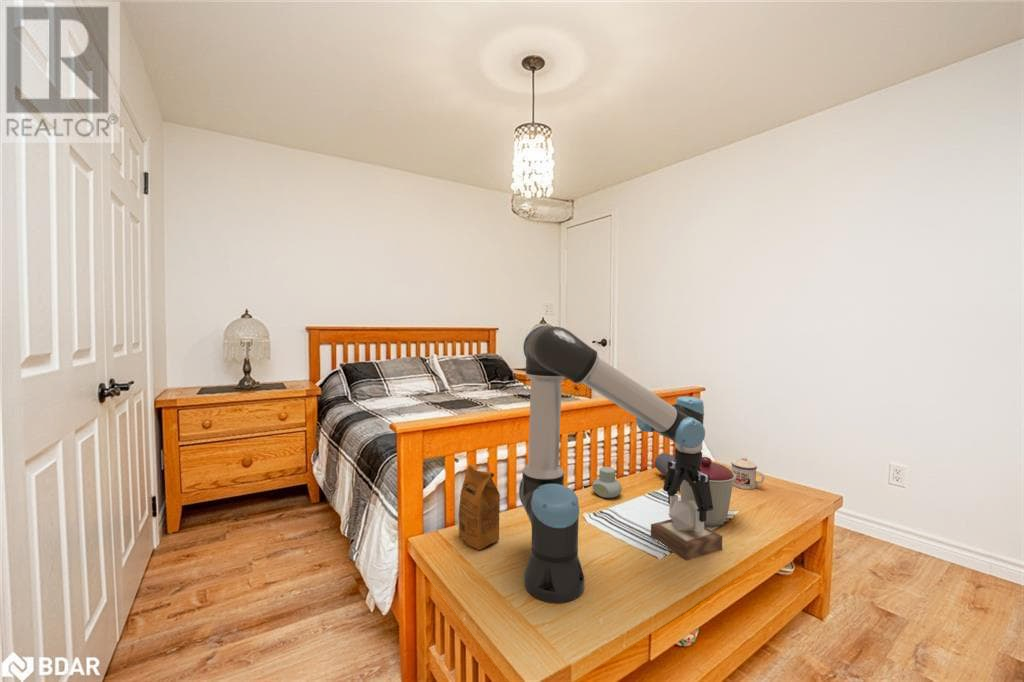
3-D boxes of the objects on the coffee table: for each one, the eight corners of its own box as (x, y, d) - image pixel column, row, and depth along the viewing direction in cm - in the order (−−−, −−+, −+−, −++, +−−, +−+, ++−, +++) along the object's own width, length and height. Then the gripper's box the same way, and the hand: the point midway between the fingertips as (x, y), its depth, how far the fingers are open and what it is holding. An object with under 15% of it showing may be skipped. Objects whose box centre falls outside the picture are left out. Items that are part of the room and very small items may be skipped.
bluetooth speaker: (652, 474, 184) (653, 452, 183) (672, 473, 186) (673, 451, 185) (683, 496, 162) (684, 470, 161) (705, 495, 163) (706, 469, 163)
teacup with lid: (727, 485, 173) (728, 457, 172) (735, 479, 179) (736, 452, 179) (760, 494, 164) (761, 464, 164) (767, 488, 171) (768, 459, 170)
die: (697, 542, 122) (713, 510, 124) (668, 523, 124) (684, 492, 126) (686, 537, 130) (701, 508, 132) (660, 520, 132) (675, 491, 134)
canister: (732, 513, 148) (735, 453, 147) (735, 537, 132) (738, 470, 131) (677, 503, 156) (678, 446, 155) (673, 524, 139) (675, 461, 138)
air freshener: (588, 493, 164) (589, 467, 163) (601, 487, 169) (601, 463, 169) (612, 502, 156) (613, 475, 155) (625, 496, 161) (626, 470, 161)
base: (686, 560, 119) (687, 545, 119) (650, 536, 131) (651, 523, 131) (721, 549, 125) (722, 535, 124) (684, 527, 137) (684, 514, 137)
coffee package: (480, 526, 137) (480, 459, 136) (503, 542, 127) (504, 470, 126) (453, 536, 131) (453, 465, 130) (476, 553, 121) (476, 477, 120)
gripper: (729, 459, 118) (726, 538, 119) (670, 438, 138) (668, 506, 139) (710, 462, 115) (707, 543, 116) (652, 441, 135) (650, 510, 136)
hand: (685, 523), depth 128 cm, fingers open, 9 cm apart
